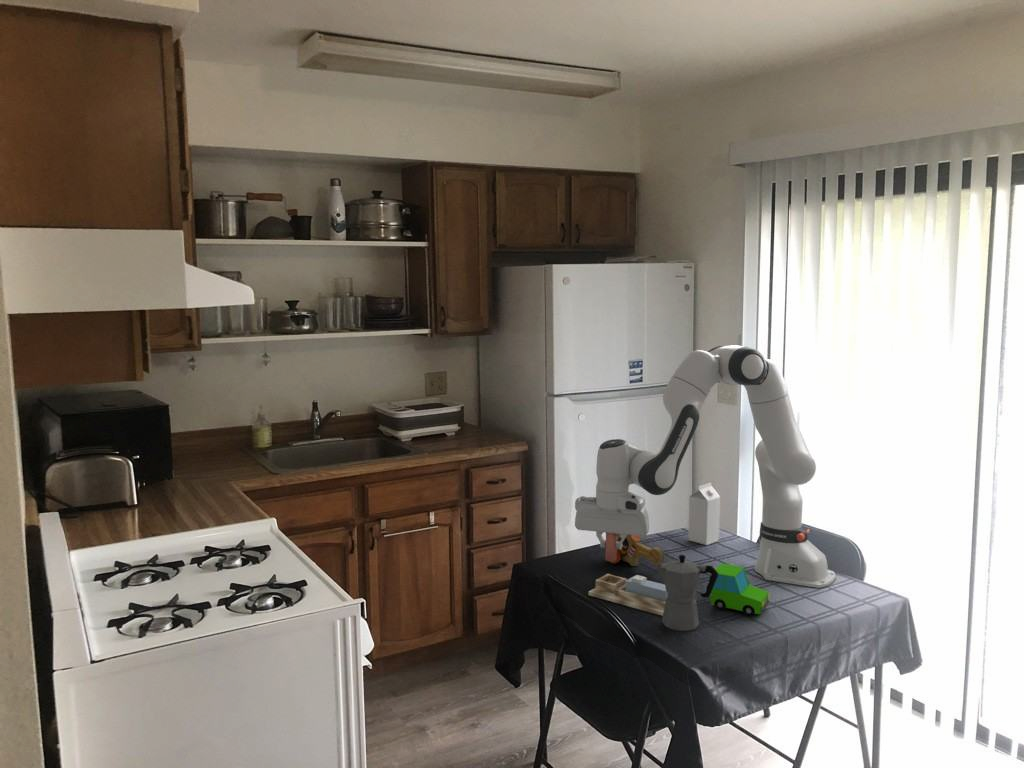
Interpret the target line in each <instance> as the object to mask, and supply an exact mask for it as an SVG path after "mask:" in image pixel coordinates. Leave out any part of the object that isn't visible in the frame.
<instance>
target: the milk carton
mask: <svg viewBox="0 0 1024 768" xmlns="http://www.w3.org/2000/svg"><path fill="white" fill-rule="evenodd" d="M688 502H689V503H688V504H689V506H688V507H689V509H688V510H689V511H688V537H687V539H688V541H690V542H693V543H697V544H701V545H704V546H709V545H711V544H714V543H716V542H718V541H720V520H721V519H720V518H721V517H720V513H721V496H720V494H719V493H718V492H717V490H716V489H715V488H714V487H713V486H712V482H709V483H705V484H702V485H699V486H698V490H696V491H695V492H693V493H692V494H690V495H689V501H688Z"/></svg>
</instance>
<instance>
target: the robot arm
mask: <svg viewBox="0 0 1024 768" xmlns="http://www.w3.org/2000/svg"><path fill="white" fill-rule="evenodd" d="M717 383H722V384H725V385H730V386H735V385H739V386H740V385H741V386H743V387H744V388H745V391H746V394H747V399H748V402H749V406H750V409H751V411H750V412H751V414H752V415H751V416H752V418H753V422H754V426H755V429H756V431H757V432H758V434H759V435H760V438H761V440H760V441H759V442H758V444H757V445H756V447H755V451H754V455H755V459H756V462H757V466H758V470H759V471H758V472H759V480H760V485H761V493H762V512H761V515H762V516H761V519H762V520H761V522H760V525H759V541H760V544H759V549H758V553H757V559H756V563H755V565H754V570H755V572H757V573H758V574H759V575H761V576H763V578H764V580H766V581H773V582H778V583H786V584H791V585H798V586H803V587H811V588H815V589H816V588H817V589H819V588H820V589H821V588H824V587H828V586H831V585H832V584H833V583H834V582H835V581H836V578H837V577H836V573H835V571H833V570H831V569H829V568H828V560H827V557H826V555H825V554H824V552H822V550H819V548H817V547H816V546H815V545H814V544H813V543H812V542H811V541H810V540H808V538H809V537H808V535H809V533H810V528H808V529H807V530H806V529H805V527H804V526H803V523H802V519H803V496H802V495H801V492H800V488H799V486H801V485H805V484H807V483H808V482H810V481H811V480H812V479H813V478H814V476H815V473H816V470H817V464H816V461H815V459H814V458H813V456H812V454H811V453H810V451H809V449H808V446H807V443H806V441H805V439H804V437H803V435H802V432H801V431H800V428H799V426H798V423H797V421H796V418H795V415H794V411H793V407H792V403H791V400H790V394H789V391H788V387H787V384H786V381H785V379H784V375H783V374H782V371H781V369H780V367H779V365H778V364H777V362H775V361H774V360H772V359H768V358H765V357H764V355H763V354H762V353H761V352H760V350H757V349H755V348H753V347H751V346H743V345H736V344H733V345H720V346H715V347H712V348H711V349H709V350H708V351H705V350H702V349H697V350H693V351H691V352H690V353H689V354H688V355H687V356H686V357H685V358H684V359H683V360H682V362H681V363H680V364H679V366H678V368H677V369H676V370H675V372H674V373H673V375H672V376H671V378H670V380H669V381H668V382H667V385H666V386H665V388H664V391H663V394H662V401H663V405H664V407H665V410H666V411H667V413H668V414H669V416H670V417H671V418H670V419H671V426H670V428H669V432H668V433H667V436H666V437H665V440H664V442H663V443H662V446H661V448H660V450H659V451H658V452H657V453H656V454H654V453H652V452H650V451H648V450H645V449H642V448H639V447H636V446H634V445H633V444H630V443H628V442H627V441H626V440H624V439H621V438H615V439H608V440H606V441H604V442H603V443H601V444H600V445H599V447H598V450H597V455H596V466H595V467H596V468H595V469H596V470H595V471H596V472H595V473H596V477H597V478H596V479H597V481H596V486H595V496H593V497H592V496H579V497H578V498H576V499H575V501H574V509H575V511H576V512H575V518H574V527H575V528H576V529H577V530H578V531H585V532H586V531H587V532H596V533H595V535H596V537H597V539H598V541H599V543H600V544H599V547H600V548H603V549H606V539H604V537H603V534H604V533H605V534H606V533H615V534H620V538H622V539H621V541H617V542H616V549H620V550H621V549H622V542H623V541H624V539H625V538H626V536H627V535H634V536H639V537H646V536H647V535H648V533H649V531H650V521H649V513H648V511H647V508H646V507H645V506H646V499H645V498H644V497H642V496H640V495H638V494H635V493H633V492H630V491H629V486H630V485H633V484H634V485H635V486H638V487H640V488H642V489H644V491H646V492H647V493H649V494H651V495H654V496H660V495H661V496H662V495H664V494H667V493H668V492H670V490H672V489H673V487H674V486H675V484H676V482H677V479H678V476H679V471H680V466H681V463H682V461H683V459H684V457H685V454H686V451H687V449H688V448H689V445H690V444H691V441H692V439H693V438H694V437H693V436H694V435H695V432H696V430H697V427H698V424H699V420H700V413H701V409H702V406H703V404H704V403H705V401H706V399H707V397H708V396H709V394H710V392H711V390H712V389H713V387H714V386H715V385H716V384H717Z"/></svg>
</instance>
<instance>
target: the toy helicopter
mask: <svg viewBox="0 0 1024 768" xmlns="http://www.w3.org/2000/svg"><path fill="white" fill-rule="evenodd" d="M621 539H622V538H620V534H617V541H621ZM640 541H641V536H634V535H627V536H626V538H625V539H624V541H623V542H622V549H621V550H620V549H617V556H616V561H609V563H610V564H618V563H619V562H620V561H621V560H622V561H623V562H625V563H629V565H630V566H631V567H636V566H638V565H639V562H640V561H639V559H640V557H642V558H646V559H648V560H650V561H651V563H652V564H653V565H659V564H664V561H665V553H664V551H663V550H662V549H661V548H660V547H658V546H656V547H653V548H652V547H650V546H648V545H646V544H643V543H642V542H640Z"/></svg>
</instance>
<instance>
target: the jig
mask: <svg viewBox="0 0 1024 768" xmlns="http://www.w3.org/2000/svg"><path fill="white" fill-rule="evenodd" d="M626 580H628V579H627V578H626V577H621V576H617V575H615V574H614V575H613V574H611V573H606V574H605V575H603V576H600V577H599V578H596V579H595V587H594V588H593V589H591V590H589V591H588V596H590V597H595V598H597V599H601V600H605V601H609V602H612V603H615V604H619V605H623V606H625V607H626V606H627V607H629V608H633V609H636V610H639V611H640V610H641V611H644V612H648V613H651V614H655V615H658V616H662V617H663V613H664V608H665V603H666V602H664V601H661V600H657V599H653V598H649V597H646V596H642V595H638V594H634V593H631V592H627V591H625V584H626Z"/></svg>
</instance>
